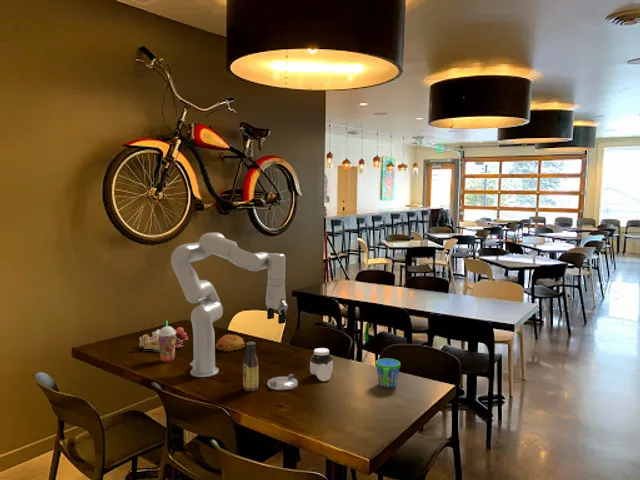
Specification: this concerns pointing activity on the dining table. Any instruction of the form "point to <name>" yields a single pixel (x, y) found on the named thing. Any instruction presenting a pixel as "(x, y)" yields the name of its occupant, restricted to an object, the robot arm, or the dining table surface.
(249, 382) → the sauce bottle
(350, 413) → the dining table surface
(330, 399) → the dining table surface
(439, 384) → the dining table surface
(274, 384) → the base
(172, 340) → the smoothie
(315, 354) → the spread jar
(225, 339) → the bread bun
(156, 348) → the candy landscape model
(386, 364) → the snack cup
